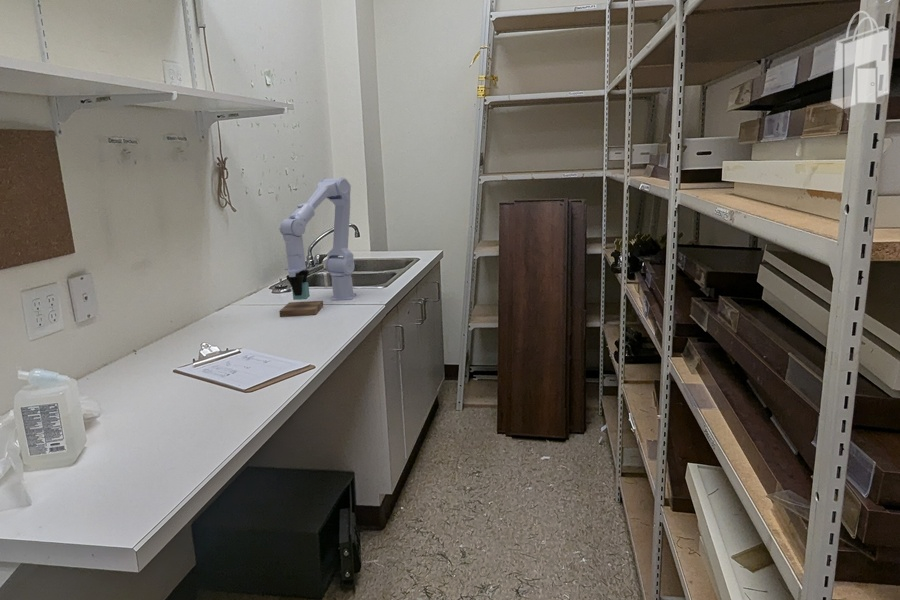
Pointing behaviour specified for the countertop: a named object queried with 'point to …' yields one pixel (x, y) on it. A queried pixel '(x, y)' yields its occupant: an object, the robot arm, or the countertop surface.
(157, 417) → the countertop surface
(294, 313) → the walnut plinth
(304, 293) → the teal block
